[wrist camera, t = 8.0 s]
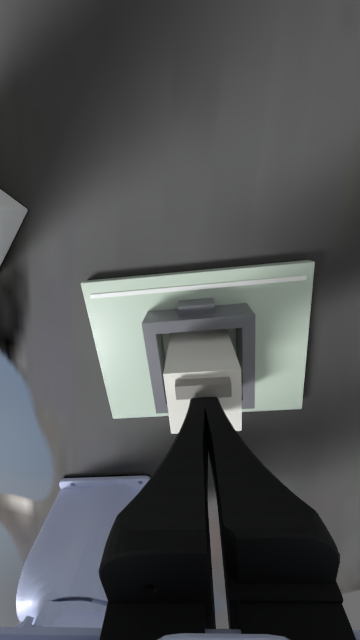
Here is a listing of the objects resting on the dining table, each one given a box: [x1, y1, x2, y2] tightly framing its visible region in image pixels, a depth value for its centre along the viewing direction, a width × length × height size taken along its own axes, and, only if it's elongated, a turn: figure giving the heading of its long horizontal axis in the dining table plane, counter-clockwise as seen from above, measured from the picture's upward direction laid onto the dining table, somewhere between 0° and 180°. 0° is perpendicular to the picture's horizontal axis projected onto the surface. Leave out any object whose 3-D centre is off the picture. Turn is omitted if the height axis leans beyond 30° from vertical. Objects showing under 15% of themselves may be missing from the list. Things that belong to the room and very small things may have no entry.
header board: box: [81, 260, 315, 419], centre depth 18 cm, size 16×12×4 cm
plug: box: [163, 329, 242, 434], centre depth 16 cm, size 4×4×7 cm
